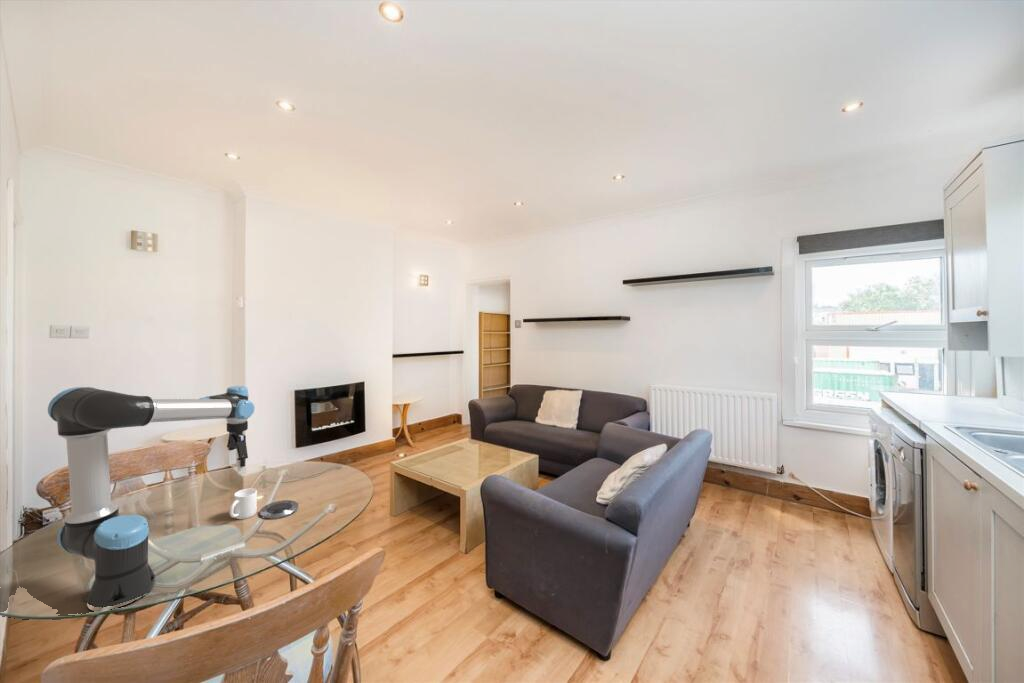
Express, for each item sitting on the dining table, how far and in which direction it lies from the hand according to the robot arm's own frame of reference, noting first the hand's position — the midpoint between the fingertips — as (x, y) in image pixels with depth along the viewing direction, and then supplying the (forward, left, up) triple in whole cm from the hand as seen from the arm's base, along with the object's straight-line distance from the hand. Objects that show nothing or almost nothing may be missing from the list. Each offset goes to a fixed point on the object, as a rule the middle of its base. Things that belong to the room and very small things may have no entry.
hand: (237, 468), depth 167 cm
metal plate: (+8, -15, -21) cm, 27 cm away
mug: (-1, -4, -21) cm, 22 cm away
